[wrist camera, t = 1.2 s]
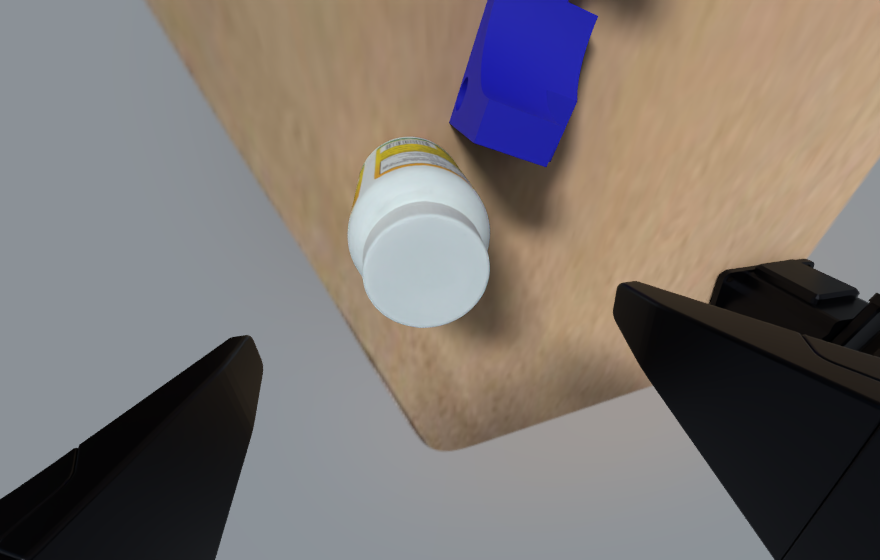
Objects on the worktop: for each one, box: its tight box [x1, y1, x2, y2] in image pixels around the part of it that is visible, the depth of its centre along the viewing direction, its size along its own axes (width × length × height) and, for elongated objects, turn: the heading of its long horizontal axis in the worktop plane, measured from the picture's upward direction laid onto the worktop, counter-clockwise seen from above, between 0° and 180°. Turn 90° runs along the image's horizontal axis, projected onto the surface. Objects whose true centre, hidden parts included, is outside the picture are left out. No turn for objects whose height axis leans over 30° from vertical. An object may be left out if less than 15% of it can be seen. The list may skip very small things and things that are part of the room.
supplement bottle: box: [348, 137, 490, 328], centre depth 16 cm, size 5×5×10 cm
